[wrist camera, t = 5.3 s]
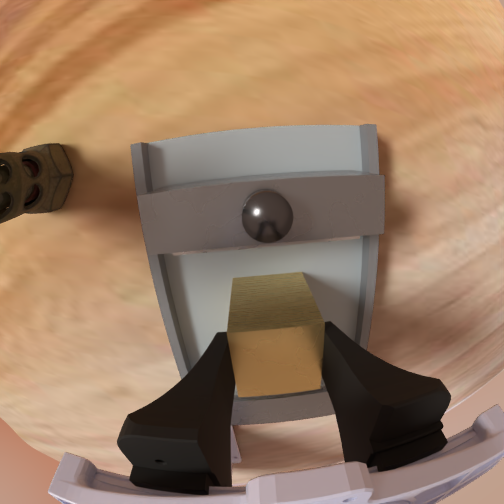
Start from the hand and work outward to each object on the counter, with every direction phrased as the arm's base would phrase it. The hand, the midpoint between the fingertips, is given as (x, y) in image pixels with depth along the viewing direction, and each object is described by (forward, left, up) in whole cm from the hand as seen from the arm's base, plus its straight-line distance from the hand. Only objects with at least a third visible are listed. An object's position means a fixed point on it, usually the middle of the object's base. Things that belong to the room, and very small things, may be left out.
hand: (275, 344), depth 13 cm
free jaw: (+6, 0, -4) cm, 7 cm away
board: (+1, 0, -5) cm, 5 cm away
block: (0, 0, -4) cm, 4 cm away
